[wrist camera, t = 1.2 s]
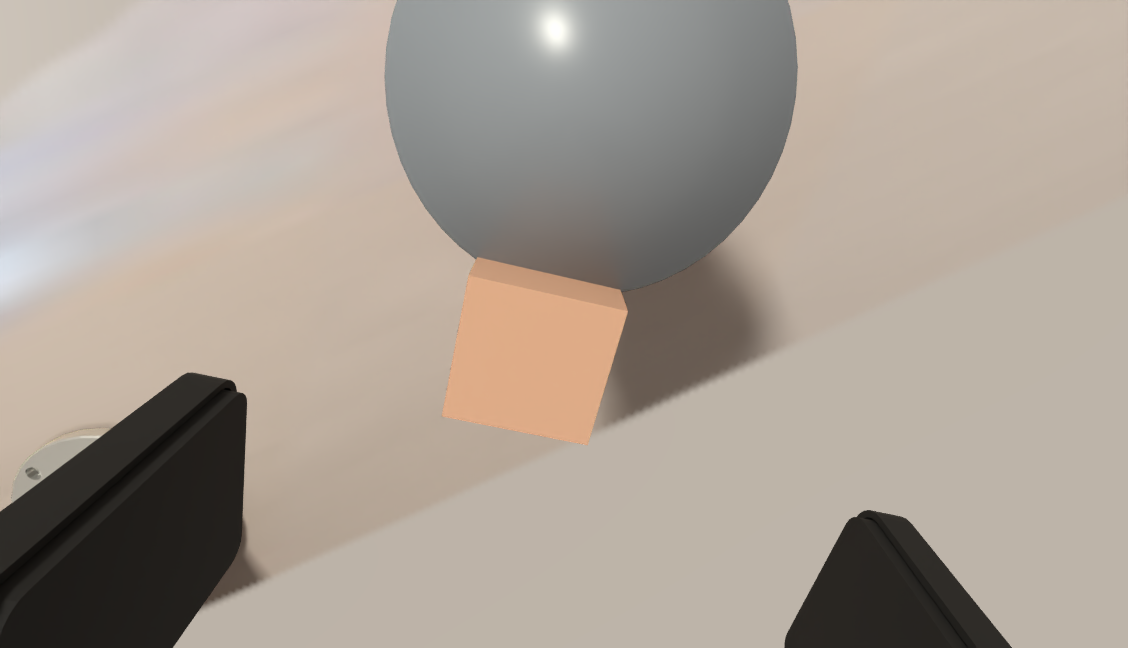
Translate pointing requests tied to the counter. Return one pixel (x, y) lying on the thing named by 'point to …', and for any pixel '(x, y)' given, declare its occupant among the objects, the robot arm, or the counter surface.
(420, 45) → the gray paddle
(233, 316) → the counter surface
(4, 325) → the counter surface
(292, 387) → the counter surface
